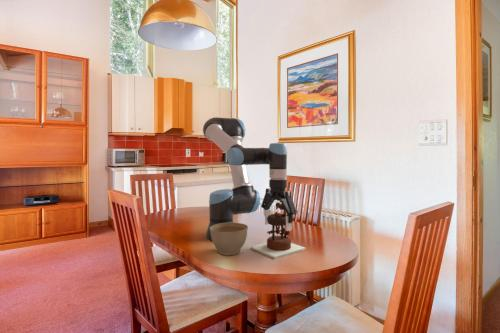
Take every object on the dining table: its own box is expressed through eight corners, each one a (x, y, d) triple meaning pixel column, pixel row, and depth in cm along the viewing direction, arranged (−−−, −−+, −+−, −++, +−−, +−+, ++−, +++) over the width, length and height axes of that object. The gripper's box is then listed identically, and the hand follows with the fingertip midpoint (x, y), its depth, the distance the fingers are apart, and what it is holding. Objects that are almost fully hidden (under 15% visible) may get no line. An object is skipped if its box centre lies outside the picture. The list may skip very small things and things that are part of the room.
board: (250, 248, 132) (250, 246, 132) (280, 240, 143) (280, 239, 143) (274, 258, 119) (274, 256, 119) (305, 249, 130) (305, 247, 130)
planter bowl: (232, 243, 139) (232, 220, 138) (255, 252, 127) (255, 227, 126) (202, 251, 128) (202, 226, 128) (225, 261, 116) (225, 234, 116)
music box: (279, 240, 140) (282, 198, 138) (297, 248, 132) (301, 204, 130) (255, 247, 130) (258, 202, 128) (274, 256, 122) (277, 208, 120)
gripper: (253, 177, 137) (253, 222, 138) (292, 181, 117) (292, 235, 118) (266, 176, 142) (266, 220, 143) (305, 180, 122) (305, 231, 123)
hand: (277, 227), depth 131 cm, fingers open, 13 cm apart
